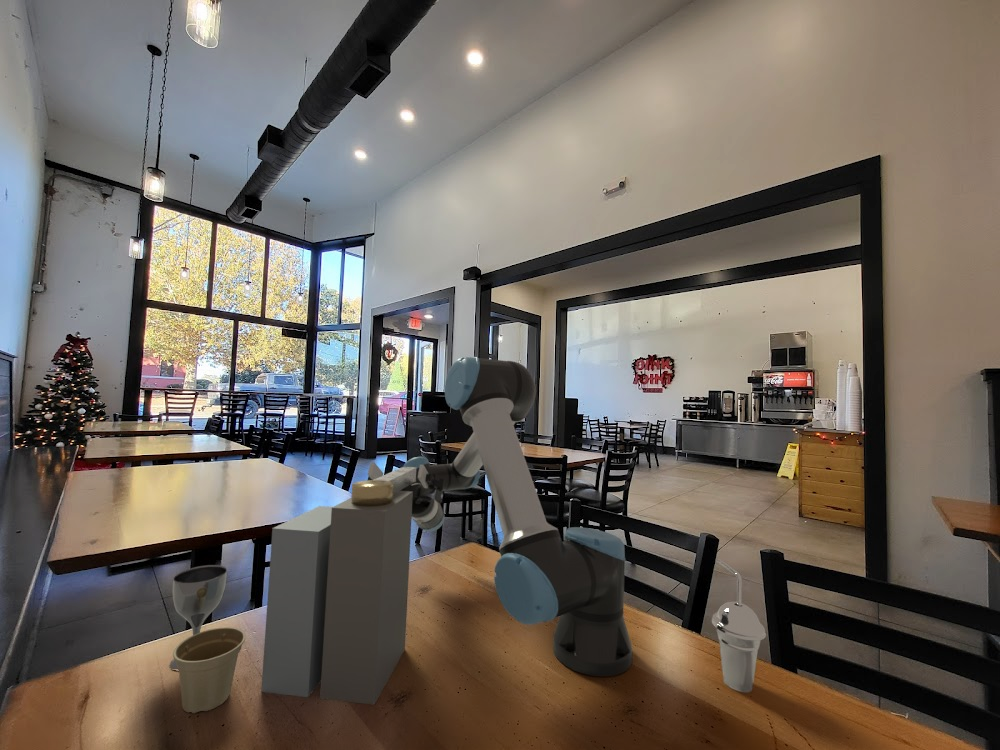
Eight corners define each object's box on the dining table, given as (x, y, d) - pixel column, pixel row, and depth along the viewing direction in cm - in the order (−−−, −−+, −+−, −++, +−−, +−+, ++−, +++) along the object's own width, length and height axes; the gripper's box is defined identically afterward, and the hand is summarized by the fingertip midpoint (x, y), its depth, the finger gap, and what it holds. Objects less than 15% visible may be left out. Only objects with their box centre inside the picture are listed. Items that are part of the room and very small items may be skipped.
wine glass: (226, 659, 76) (232, 574, 77) (171, 679, 71) (178, 587, 72) (214, 641, 82) (220, 561, 83) (162, 658, 76) (169, 572, 77)
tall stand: (404, 649, 82) (412, 491, 83) (374, 704, 67) (384, 511, 69) (359, 644, 83) (368, 488, 84) (320, 698, 68) (331, 507, 69)
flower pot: (215, 724, 62) (219, 663, 62) (151, 721, 62) (156, 659, 62) (254, 681, 71) (257, 628, 71) (199, 678, 71) (203, 625, 72)
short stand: (350, 643, 83) (357, 508, 84) (308, 697, 68) (318, 531, 69) (311, 639, 84) (319, 505, 85) (261, 691, 69) (272, 528, 70)
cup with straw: (718, 695, 72) (719, 574, 73) (705, 663, 81) (706, 556, 82) (774, 705, 70) (774, 581, 71) (754, 671, 79) (754, 561, 80)
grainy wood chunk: (424, 481, 93) (425, 468, 94) (383, 507, 71) (384, 489, 71) (393, 479, 94) (394, 466, 94) (343, 504, 71) (344, 486, 72)
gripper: (462, 521, 102) (446, 491, 83) (372, 515, 104) (337, 484, 85) (466, 490, 106) (452, 455, 87) (379, 485, 108) (347, 449, 89)
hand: (395, 469), depth 86 cm, fingers open, 10 cm apart
